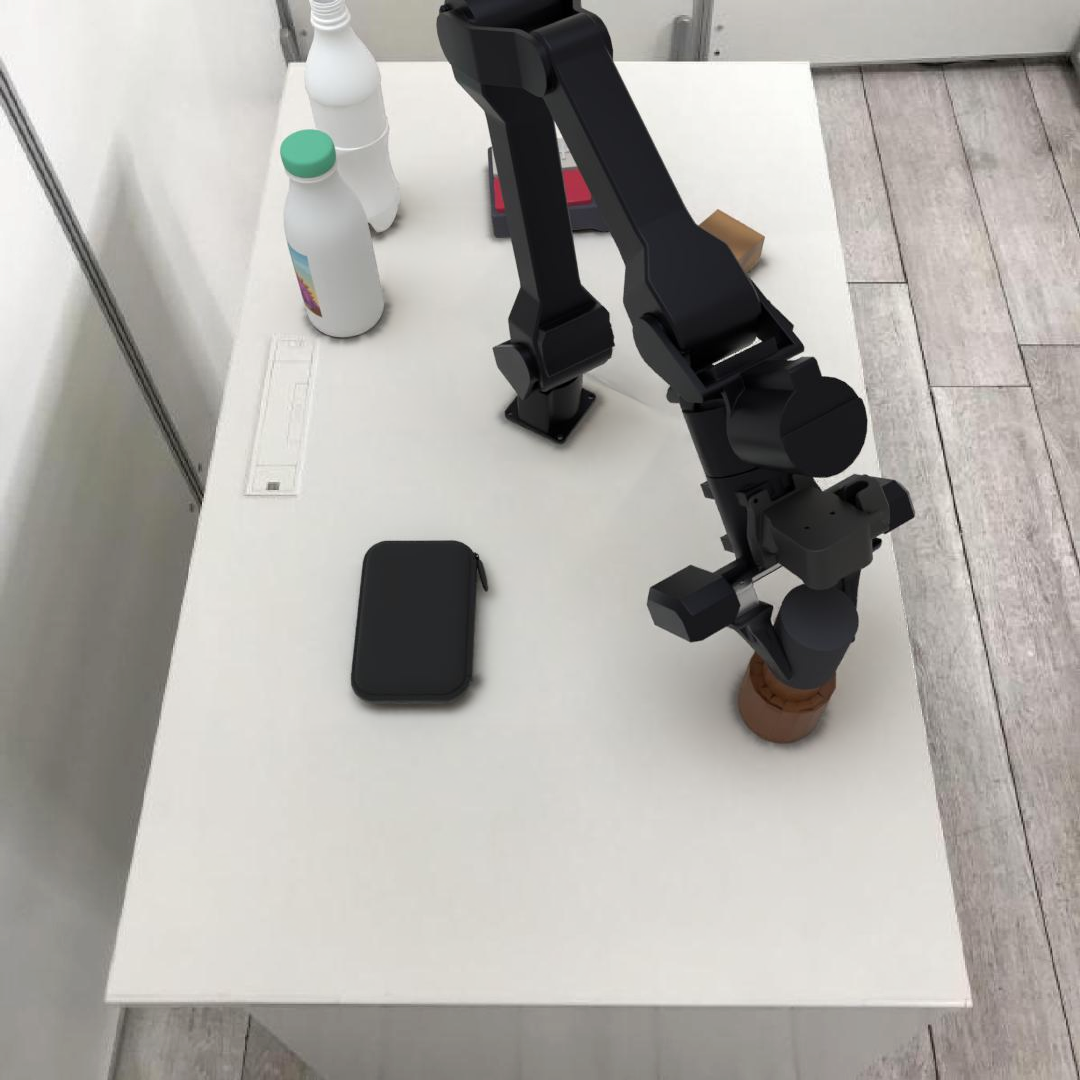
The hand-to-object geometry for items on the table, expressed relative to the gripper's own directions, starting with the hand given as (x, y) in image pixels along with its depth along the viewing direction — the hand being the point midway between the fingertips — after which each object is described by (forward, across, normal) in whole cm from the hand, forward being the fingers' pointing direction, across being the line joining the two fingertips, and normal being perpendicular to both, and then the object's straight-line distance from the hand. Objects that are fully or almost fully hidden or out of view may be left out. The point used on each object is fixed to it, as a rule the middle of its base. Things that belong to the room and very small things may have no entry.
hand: (817, 660), depth 75 cm
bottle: (+7, 0, +9) cm, 11 cm away
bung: (+1, 0, +3) cm, 4 cm away
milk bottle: (-33, -11, +49) cm, 60 cm away
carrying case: (-8, -21, +24) cm, 32 cm away
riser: (-23, +25, +38) cm, 51 cm away
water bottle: (-40, -3, +56) cm, 69 cm away
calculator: (-35, +16, +50) cm, 63 cm away
